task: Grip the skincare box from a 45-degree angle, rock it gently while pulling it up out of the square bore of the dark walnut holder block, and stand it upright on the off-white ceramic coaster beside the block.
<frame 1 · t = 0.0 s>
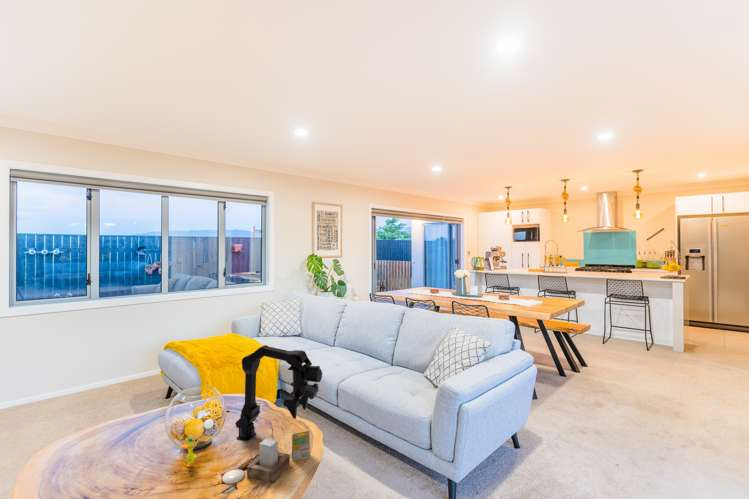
hand: (299, 413, 164), 15 cm above the table, tool pointing down, fingers open, 9 cm apart
crayon box: (300, 457, 156), on the table
toy figure: (189, 466, 150), on the table
ceramic coaster: (233, 477, 143), on the table
skincare box: (269, 471, 147), resting in walnut holder block
walnut holder block: (269, 471, 147), on the table
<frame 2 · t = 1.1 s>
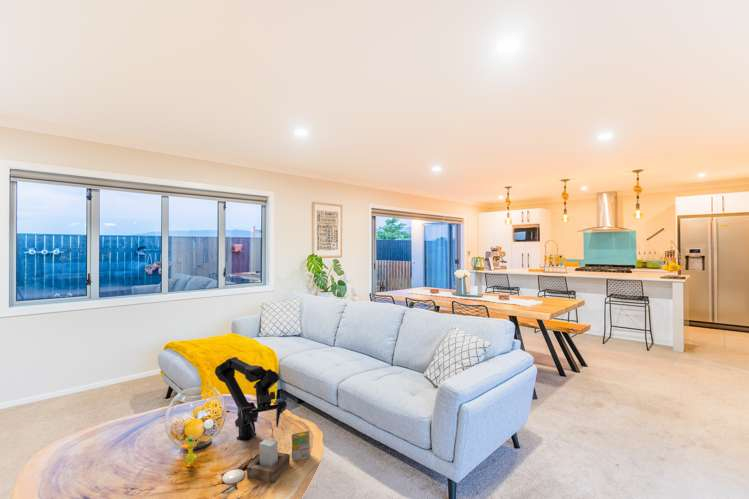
hand: (266, 429, 153), 13 cm above the table, tool tilted 45°, fingers open, 9 cm apart
nothing on the table moved.
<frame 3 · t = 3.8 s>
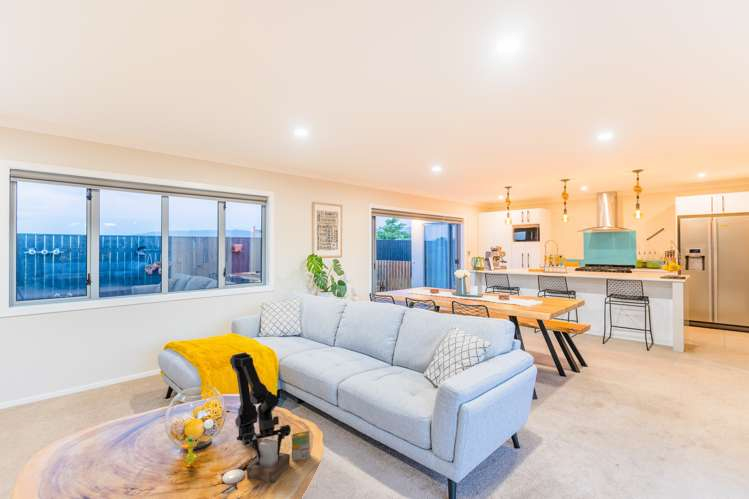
hand: (269, 457, 145), 7 cm above the table, tool tilted 45°, fingers closed on skincare box, 7 cm apart
skincare box: (269, 471, 147), resting in walnut holder block, touching gripper
everything else where it was.
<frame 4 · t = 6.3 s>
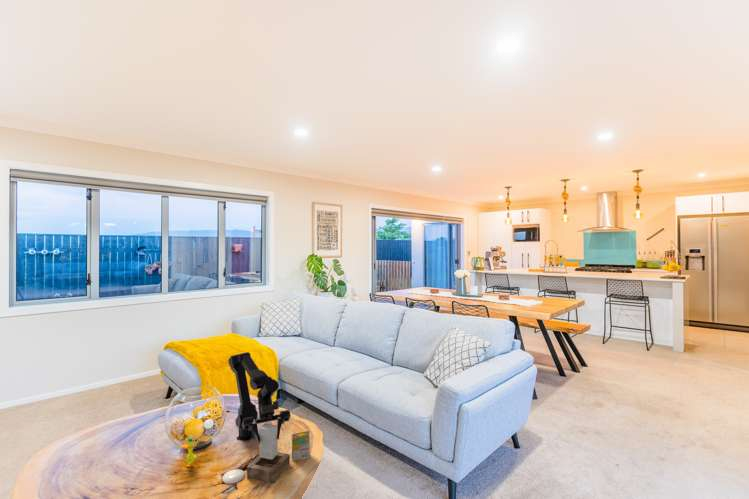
hand: (268, 441, 145), 13 cm above the table, tool tilted 45°, fingers closed on skincare box, 7 cm apart
skincare box: (268, 456, 147), point 6 cm above the table, touching gripper
everything else where it was.
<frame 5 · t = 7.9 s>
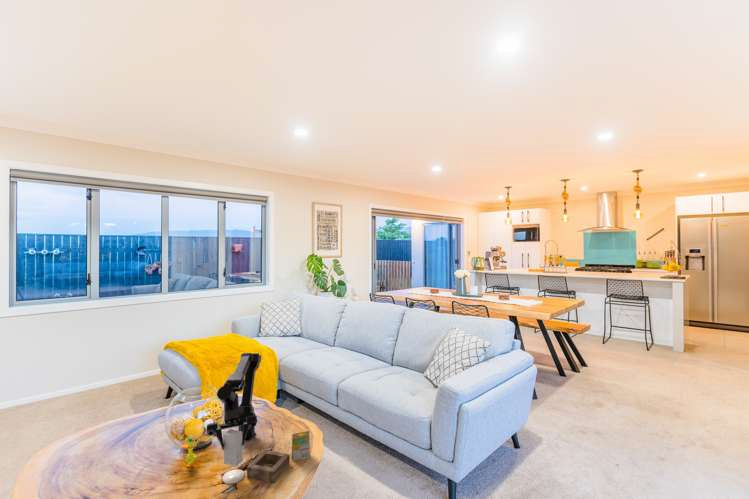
hand: (233, 447, 142), 12 cm above the table, tool tilted 45°, fingers closed on skincare box, 7 cm apart
skincare box: (233, 462, 143), point 6 cm above the table, touching gripper
everything else where it was.
when the fingers open (8 cm above the table, at t = 9.2 s): skincare box drops 1 cm, resting on ceramic coaster.
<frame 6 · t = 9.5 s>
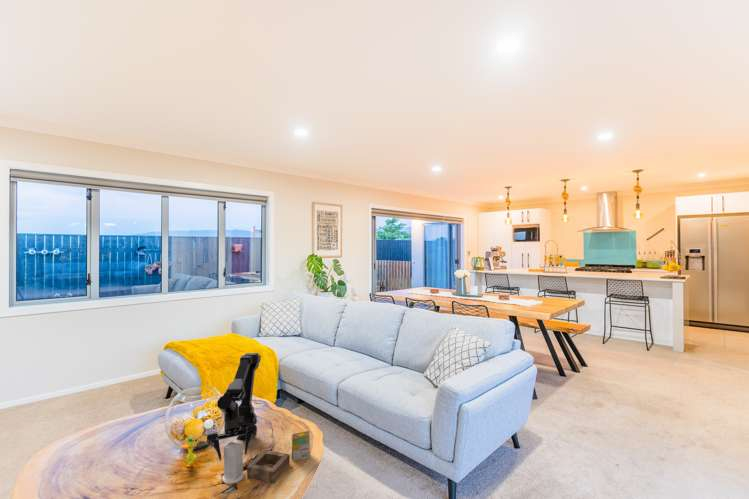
hand: (233, 457, 142), 9 cm above the table, tool tilted 45°, fingers open, 9 cm apart
skincare box: (233, 475, 143), resting on ceramic coaster
everything else where it was.
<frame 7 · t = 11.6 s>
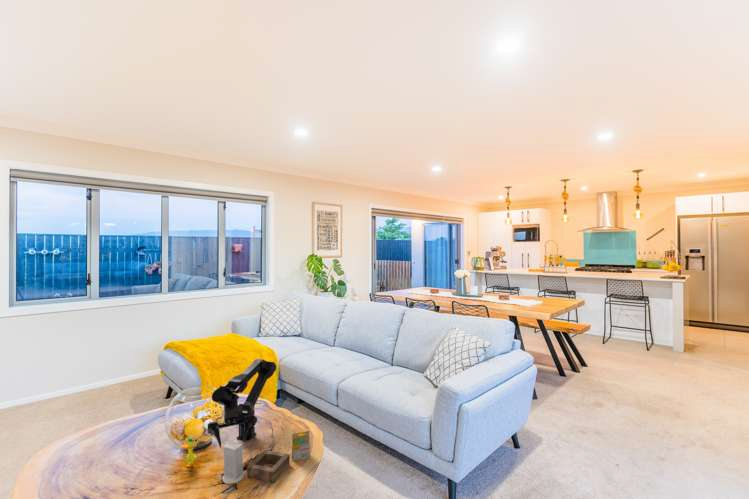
hand: (232, 444, 150), 9 cm above the table, tool tilted 45°, fingers open, 9 cm apart
nothing on the table moved.
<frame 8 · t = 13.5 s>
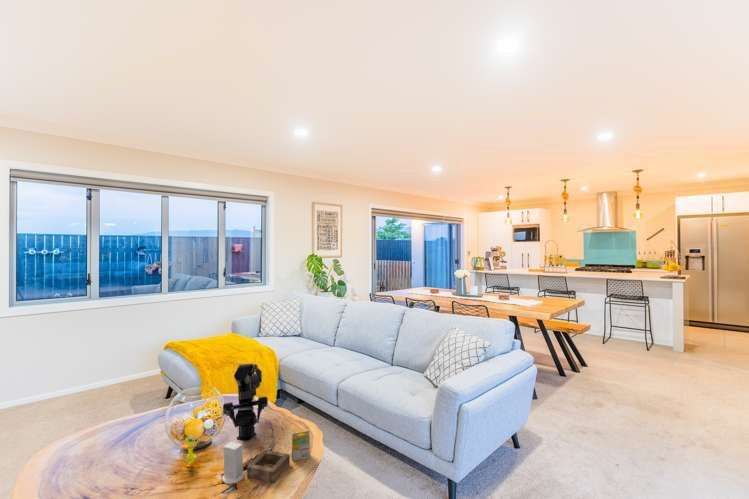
hand: (246, 424, 157), 14 cm above the table, tool tilted 45°, fingers open, 9 cm apart
nothing on the table moved.
at the end: skincare box 0.2 cm from the ceramic coaster (horizontally); skincare box tilted 0°; the gripper is holding nothing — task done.
